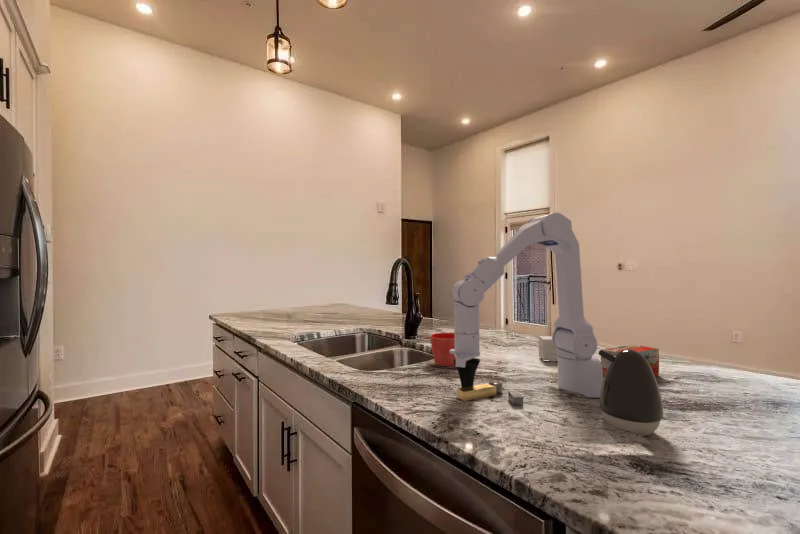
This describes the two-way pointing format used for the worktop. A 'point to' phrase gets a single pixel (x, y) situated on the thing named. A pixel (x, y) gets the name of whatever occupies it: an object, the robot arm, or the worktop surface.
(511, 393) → the block
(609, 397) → the pump dispenser
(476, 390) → the latch arm
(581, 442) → the worktop surface
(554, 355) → the product box
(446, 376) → the worktop surface
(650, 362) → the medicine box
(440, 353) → the flower pot
